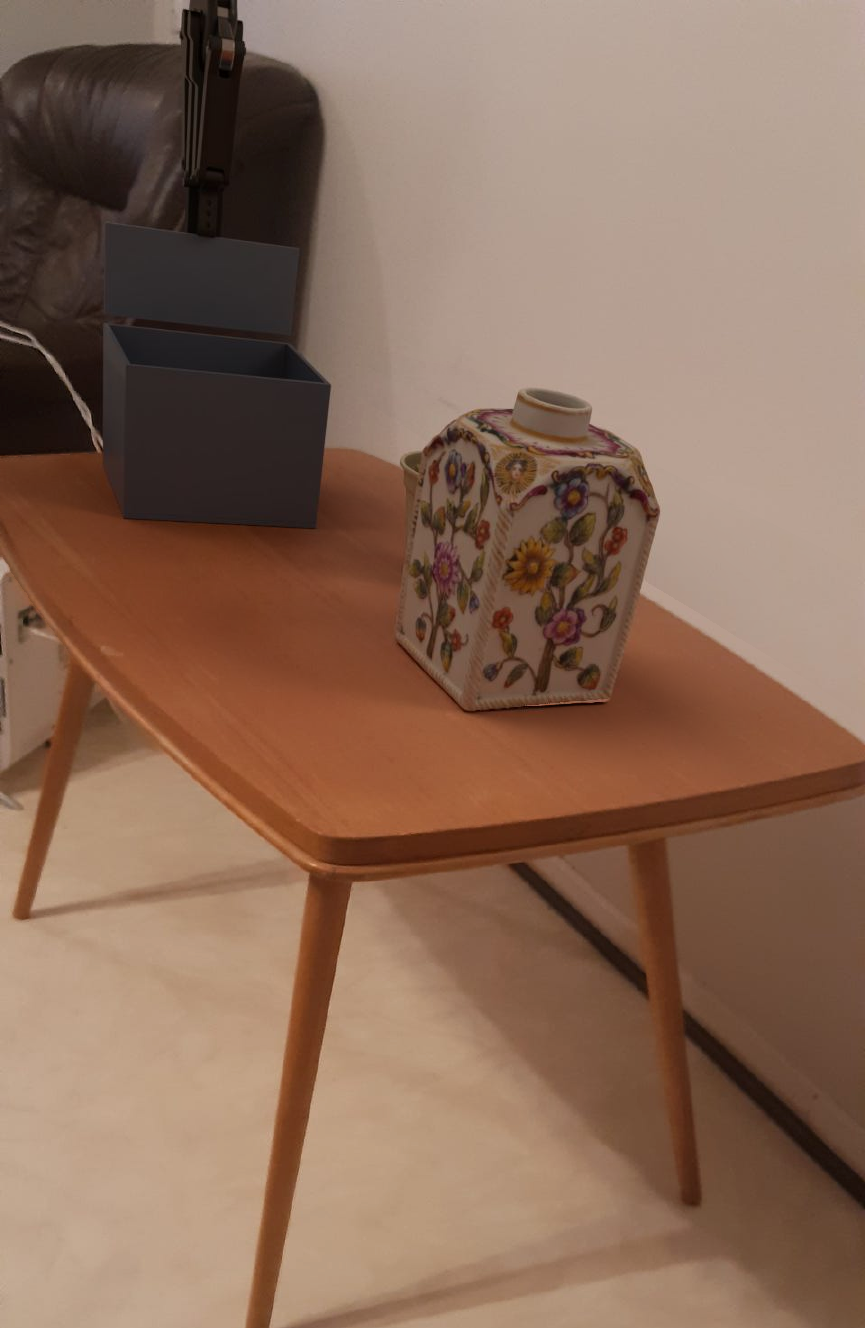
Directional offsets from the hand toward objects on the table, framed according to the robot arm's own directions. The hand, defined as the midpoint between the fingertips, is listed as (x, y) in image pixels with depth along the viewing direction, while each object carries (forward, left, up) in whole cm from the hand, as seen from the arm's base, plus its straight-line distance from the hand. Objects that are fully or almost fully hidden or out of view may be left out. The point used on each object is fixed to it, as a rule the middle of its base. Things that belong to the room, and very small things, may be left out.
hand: (200, 279), depth 101 cm
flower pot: (+26, -15, -16) cm, 33 cm away
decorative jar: (+32, -31, -16) cm, 47 cm away
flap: (0, -1, 0) cm, 1 cm away
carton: (+4, -7, -15) cm, 17 cm away
